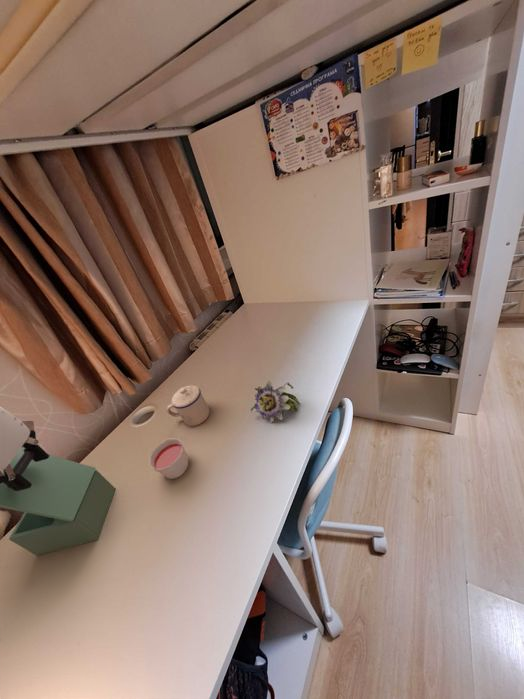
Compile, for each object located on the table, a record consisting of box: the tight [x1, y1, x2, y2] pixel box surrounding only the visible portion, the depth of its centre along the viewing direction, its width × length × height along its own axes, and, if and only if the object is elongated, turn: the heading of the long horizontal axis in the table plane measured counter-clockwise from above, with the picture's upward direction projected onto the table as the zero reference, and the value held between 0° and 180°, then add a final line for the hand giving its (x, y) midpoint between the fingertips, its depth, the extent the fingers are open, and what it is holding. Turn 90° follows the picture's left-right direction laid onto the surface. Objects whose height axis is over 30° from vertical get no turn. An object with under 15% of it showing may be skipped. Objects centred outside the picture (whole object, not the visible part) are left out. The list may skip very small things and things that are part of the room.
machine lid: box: [0, 447, 97, 522], centre depth 62 cm, size 16×13×5 cm
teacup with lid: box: [166, 384, 211, 427], centre depth 88 cm, size 12×9×12 cm
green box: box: [8, 469, 116, 556], centre depth 70 cm, size 16×13×9 cm
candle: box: [148, 437, 189, 480], centre depth 75 cm, size 9×9×6 cm
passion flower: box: [250, 380, 301, 424], centre depth 82 cm, size 11×11×12 cm
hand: (33, 472), depth 61 cm, fingers closed on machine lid, 6 cm apart
